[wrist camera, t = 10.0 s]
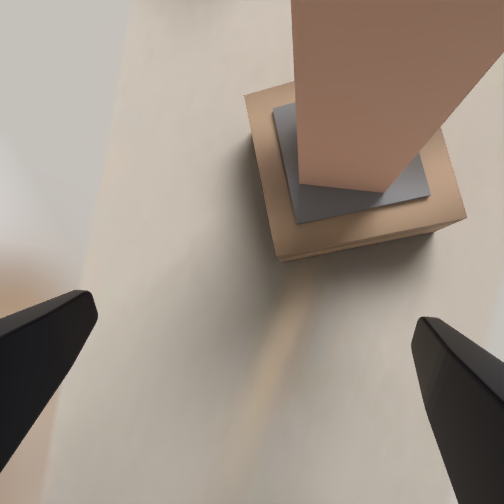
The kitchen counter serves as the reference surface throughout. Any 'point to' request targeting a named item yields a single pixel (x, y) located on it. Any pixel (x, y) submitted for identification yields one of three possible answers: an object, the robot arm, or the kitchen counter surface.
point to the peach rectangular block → (383, 81)
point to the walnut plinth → (343, 190)
